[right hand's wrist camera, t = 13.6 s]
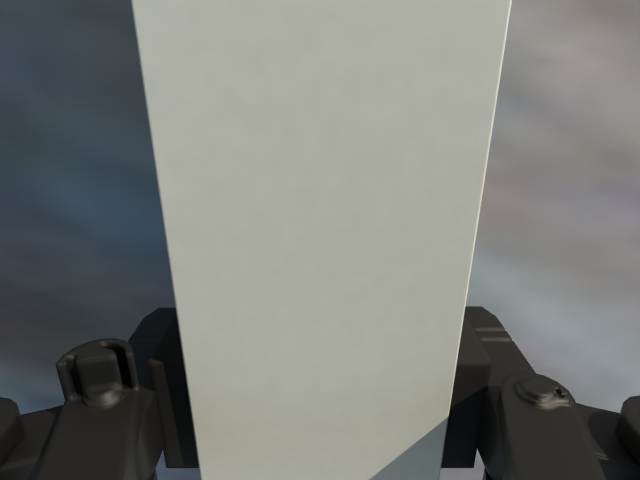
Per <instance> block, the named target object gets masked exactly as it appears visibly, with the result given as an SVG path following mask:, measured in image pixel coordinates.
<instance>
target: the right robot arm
mask: <svg viewBox="0 0 640 480" xmlns="http://www.w3.org/2000/svg"><path fill="white" fill-rule="evenodd" d="M56 368H57V372H58V376H59V379H60V383H61V386H62V390H63V394H64V397H65V403H64V405H61V406H58V407H54V408H50V409H46V410H41V411H37V412H32V413H28V414H23V415H20V412H19V409H18V406H17V404H16V403H15V402H14V401H12V400H11V399H8V398H1V397H0V480H157V475H156V469H155V468H156V465H157V463H158V460H159V458H160V455H161V453H162V450H163V452H164V457H165V463H166V468H199V463H198V456H197V449H196V442H195V436H194V429H193V422H192V415H191V408H190V401H189V395H188V388H187V381H186V374H185V367H184V360H183V354H182V347H181V340H180V333H179V326H178V319H177V312H176V308H158V309H156V310H155V311H154V312H152V313H151V314H149V315H148V316H146V317H145V318H144V319H143V320H142V322H141V323H140V324H139V326H138V327H137V329H136V330H135V333H133V335H132V336H131V337H130V339H129V342H128V343H127V342H126V341H124V340H119V339H100V340H95V341H91V342H87V343H85V344H82V345H80V346H78V347H75V348H73V349H72V350H70V351H69V352H67V353H66V354H65V355H63V356H62V357H61V358H60V360H59V361H58V362H57V364H56ZM477 449H478V451H479V453H480V456H481V458H482V461H483V463H484V466H485V469H484V475H483V480H640V396H634V397H630V398H628V399H627V400H626V401H625V402H624V403H623V406H622V409H621V412H620V413H616V412H612V411H607V410H603V409H598V408H593V407H589V406H585V405H582V404H578V403H576V402H575V400H574V398H573V397H572V395H571V394H570V392H569V391H568V390H567V389H566V388H564V387H563V386H562V385H561V384H559V383H558V382H556V381H554V380H552V379H550V378H548V377H546V376H543V375H539V374H536V373H535V371H534V370H533V369H532V367H531V366H530V364H529V363H528V361H527V360H526V359H525V357H524V356H523V354H522V353H521V351H520V350H519V349H518V347H517V346H516V344H515V343H514V341H512V339H511V337H510V336H509V334H508V333H507V331H505V329H504V327H503V326H502V324H501V323H500V321H499V320H498V319H497V317H496V316H494V315H493V314H491V313H490V312H489V311H487V310H486V309H484V308H483V307H465V312H464V318H463V325H462V332H461V338H460V345H459V351H458V358H457V365H456V371H455V378H454V384H453V391H452V397H451V404H450V411H449V417H448V424H447V430H446V437H445V444H444V450H443V457H442V463H441V468H474V462H475V457H476V451H477Z"/></svg>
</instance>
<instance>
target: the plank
mask: <svg viewBox="0 0 640 480" xmlns="http://www.w3.org/2000/svg"><path fill="white" fill-rule="evenodd" d="M511 2H512V0H131V5H132V12H133V18H134V25H135V32H136V39H137V46H138V53H139V59H140V66H141V73H142V80H143V87H144V94H145V101H146V107H147V114H148V121H149V128H150V135H151V142H152V148H153V155H154V162H155V169H156V176H157V183H158V189H159V196H160V203H161V210H162V217H163V224H164V230H165V237H166V244H167V251H168V258H169V265H170V271H171V278H172V285H173V292H174V299H175V306H176V312H177V319H178V326H179V333H180V340H181V347H182V354H183V360H184V367H185V374H186V381H187V388H188V395H189V401H190V408H191V415H192V422H193V429H194V436H195V442H196V449H197V456H198V463H199V470H200V477H201V480H439V477H440V470H441V463H442V457H443V450H444V444H445V437H446V430H447V424H448V417H449V411H450V404H451V397H452V391H453V384H454V378H455V371H456V365H457V358H458V351H459V345H460V338H461V332H462V325H463V318H464V312H465V305H466V299H467V292H468V285H469V279H470V272H471V266H472V259H473V252H474V246H475V239H476V233H477V226H478V219H479V213H480V206H481V200H482V193H483V186H484V180H485V173H486V167H487V160H488V153H489V147H490V140H491V134H492V127H493V121H494V114H495V107H496V101H497V94H498V88H499V81H500V74H501V68H502V61H503V55H504V48H505V41H506V35H507V28H508V22H509V15H510V8H511Z"/></svg>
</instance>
